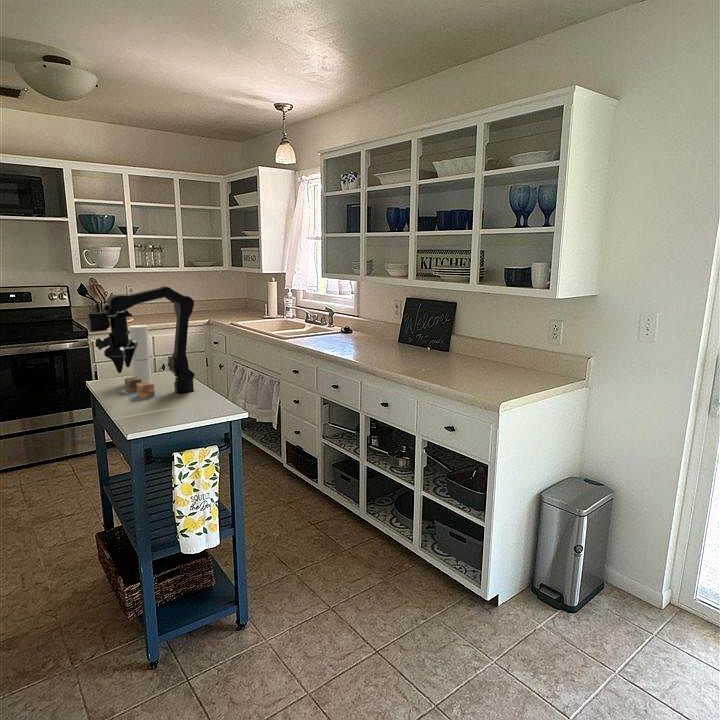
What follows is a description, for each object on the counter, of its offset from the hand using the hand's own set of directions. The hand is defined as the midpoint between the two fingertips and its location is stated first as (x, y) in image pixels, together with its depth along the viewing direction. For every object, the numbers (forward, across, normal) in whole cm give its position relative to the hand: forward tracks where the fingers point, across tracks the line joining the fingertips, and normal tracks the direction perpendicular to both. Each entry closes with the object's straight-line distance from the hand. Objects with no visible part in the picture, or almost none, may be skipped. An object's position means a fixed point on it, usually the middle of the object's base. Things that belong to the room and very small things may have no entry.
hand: (124, 369), depth 198 cm
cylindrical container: (+13, -29, -3) cm, 32 cm away
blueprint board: (+13, -10, +2) cm, 16 cm away
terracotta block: (+12, -5, +5) cm, 14 cm away
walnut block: (+12, -14, -2) cm, 19 cm away
